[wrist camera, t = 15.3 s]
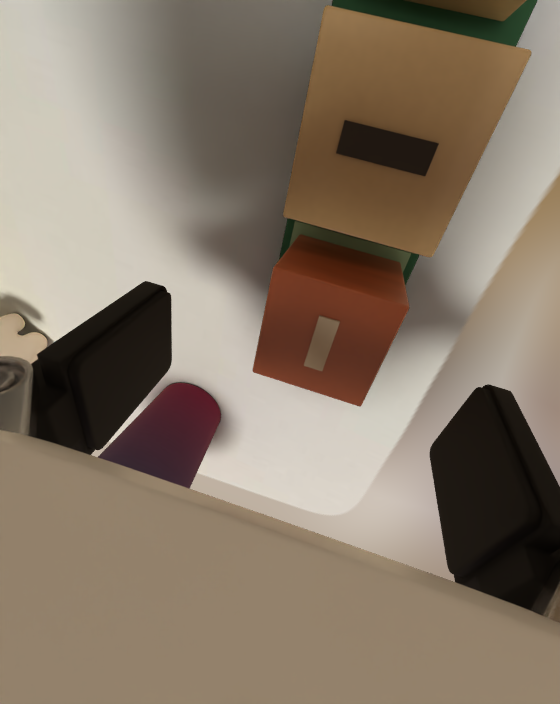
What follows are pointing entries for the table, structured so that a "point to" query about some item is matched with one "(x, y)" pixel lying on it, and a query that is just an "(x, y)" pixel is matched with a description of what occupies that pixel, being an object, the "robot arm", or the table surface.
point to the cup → (169, 435)
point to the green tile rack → (400, 119)
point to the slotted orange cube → (330, 318)
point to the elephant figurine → (19, 339)
